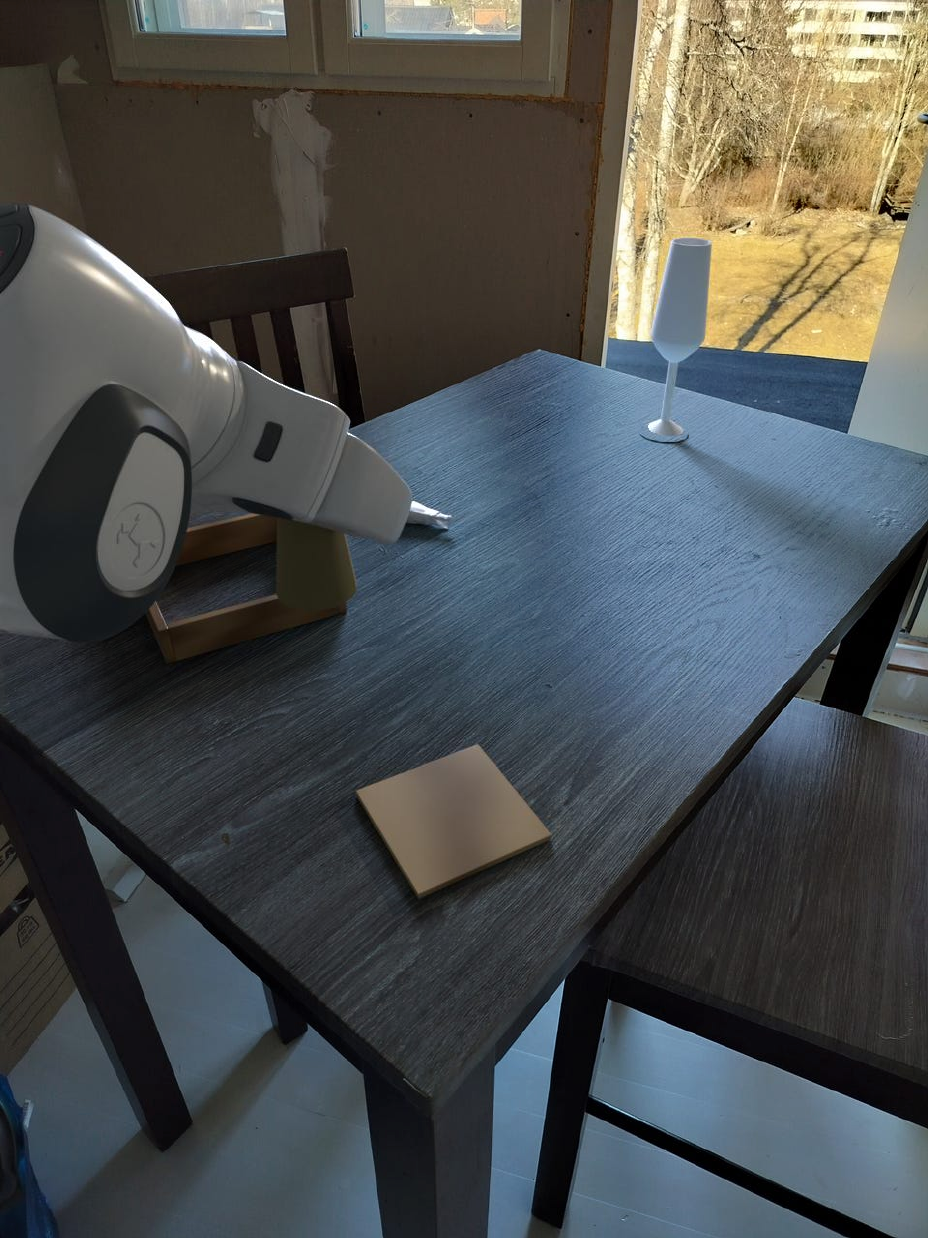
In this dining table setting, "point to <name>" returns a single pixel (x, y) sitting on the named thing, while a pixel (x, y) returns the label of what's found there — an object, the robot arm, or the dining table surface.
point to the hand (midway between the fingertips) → (314, 513)
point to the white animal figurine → (427, 516)
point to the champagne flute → (680, 315)
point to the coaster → (451, 819)
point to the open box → (234, 620)
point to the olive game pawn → (312, 566)
